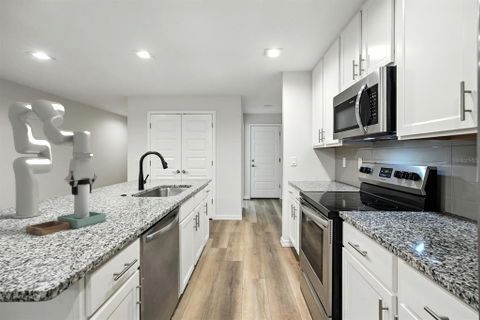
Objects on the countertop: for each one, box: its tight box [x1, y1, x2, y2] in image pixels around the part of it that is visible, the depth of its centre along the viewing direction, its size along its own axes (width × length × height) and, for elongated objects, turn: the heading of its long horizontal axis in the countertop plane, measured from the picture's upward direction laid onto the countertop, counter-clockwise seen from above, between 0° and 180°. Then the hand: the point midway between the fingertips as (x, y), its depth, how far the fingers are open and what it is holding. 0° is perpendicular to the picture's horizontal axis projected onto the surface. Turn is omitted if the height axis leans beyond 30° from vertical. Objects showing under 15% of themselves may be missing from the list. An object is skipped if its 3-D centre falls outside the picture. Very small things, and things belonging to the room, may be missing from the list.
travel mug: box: [73, 178, 91, 219], centre depth 126 cm, size 6×7×20 cm
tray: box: [56, 210, 107, 230], centre depth 126 cm, size 14×14×4 cm
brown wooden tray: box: [25, 219, 70, 236], centre depth 114 cm, size 11×11×2 cm
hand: (81, 193), depth 126 cm, fingers closed on travel mug, 6 cm apart
